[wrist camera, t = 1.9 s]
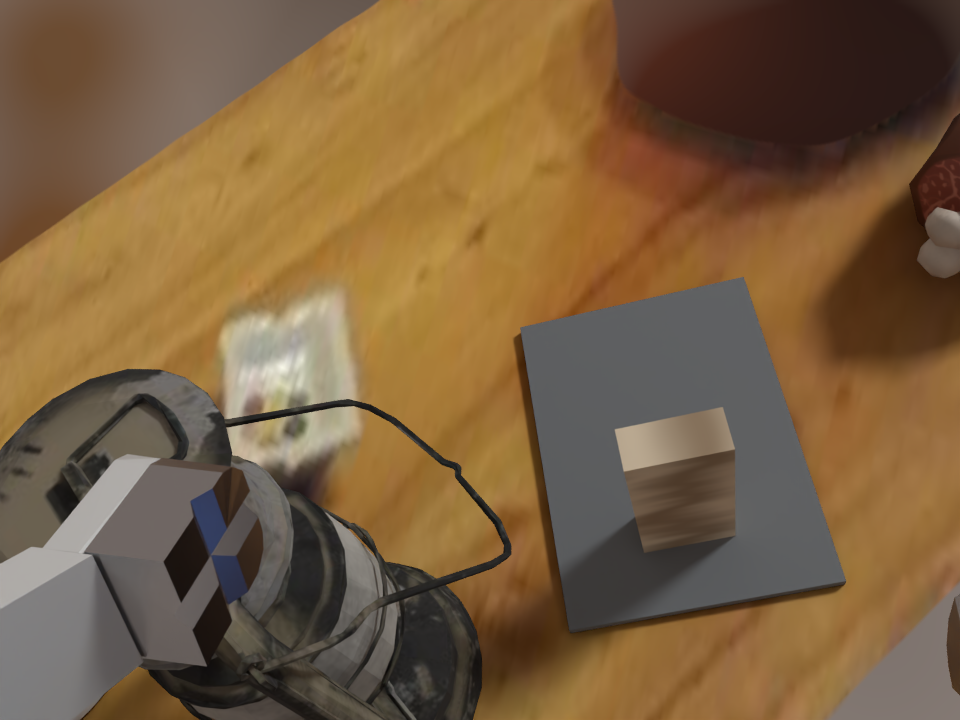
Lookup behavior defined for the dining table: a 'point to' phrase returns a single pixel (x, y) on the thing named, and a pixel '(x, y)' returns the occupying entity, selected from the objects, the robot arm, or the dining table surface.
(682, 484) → the wooden block
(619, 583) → the mat
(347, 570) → the lantern
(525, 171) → the dining table surface
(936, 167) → the meat
